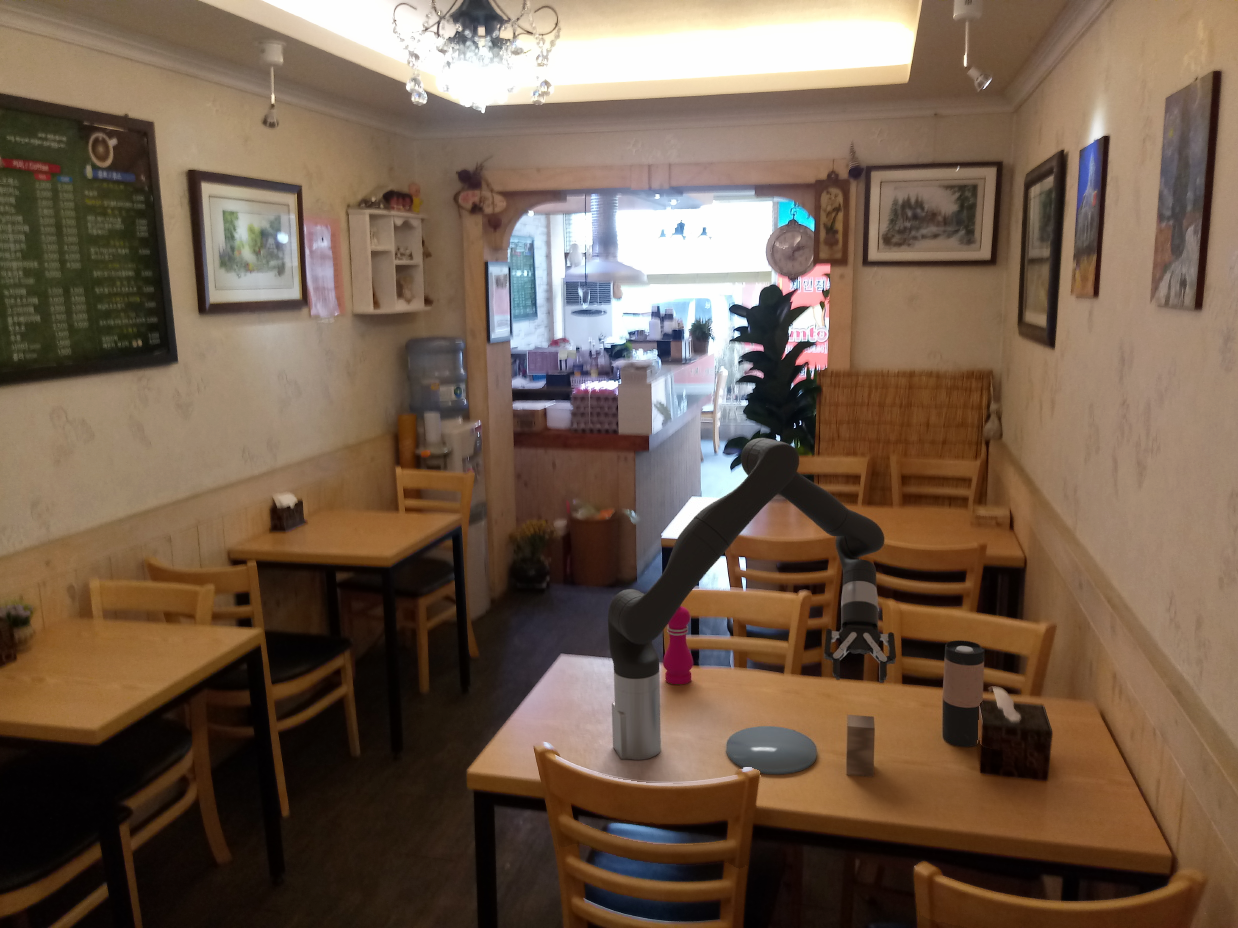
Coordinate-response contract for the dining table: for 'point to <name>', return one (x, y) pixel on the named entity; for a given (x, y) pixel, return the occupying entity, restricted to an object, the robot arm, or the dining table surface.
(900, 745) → the dining table surface
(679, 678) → the pepper mill
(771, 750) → the slate dish
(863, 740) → the walnut block
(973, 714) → the travel mug
